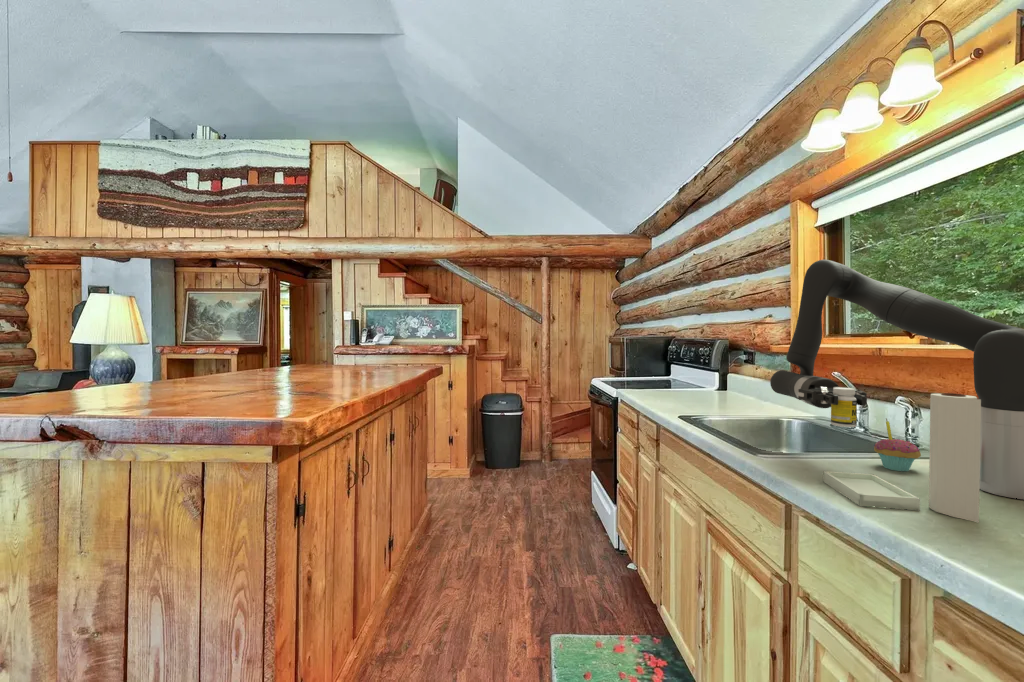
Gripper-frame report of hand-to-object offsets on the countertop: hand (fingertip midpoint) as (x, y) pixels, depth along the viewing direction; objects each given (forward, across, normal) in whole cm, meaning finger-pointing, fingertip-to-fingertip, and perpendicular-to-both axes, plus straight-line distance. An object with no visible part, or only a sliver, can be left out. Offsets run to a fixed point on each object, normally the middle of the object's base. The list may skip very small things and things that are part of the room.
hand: (850, 400), depth 100 cm
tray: (+9, -1, +18) cm, 20 cm away
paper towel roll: (+17, +9, +18) cm, 26 cm away
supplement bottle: (-3, 0, +6) cm, 7 cm away
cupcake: (-13, +16, +18) cm, 27 cm away
